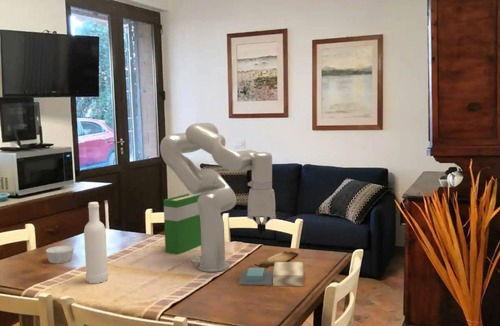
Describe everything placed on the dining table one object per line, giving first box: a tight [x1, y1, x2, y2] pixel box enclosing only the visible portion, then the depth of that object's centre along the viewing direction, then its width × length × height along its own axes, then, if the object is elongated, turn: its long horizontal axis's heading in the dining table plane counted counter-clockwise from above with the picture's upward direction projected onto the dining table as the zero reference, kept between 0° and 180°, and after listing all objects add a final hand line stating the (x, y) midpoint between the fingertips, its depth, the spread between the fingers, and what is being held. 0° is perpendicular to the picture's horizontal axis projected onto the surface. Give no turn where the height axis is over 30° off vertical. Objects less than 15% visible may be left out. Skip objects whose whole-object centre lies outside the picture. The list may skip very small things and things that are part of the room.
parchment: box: [254, 250, 299, 269], centre depth 225 cm, size 25×10×1 cm, turn 145°
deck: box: [272, 261, 304, 287], centre depth 200 cm, size 11×16×4 cm
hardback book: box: [163, 193, 201, 255], centre depth 244 cm, size 18×7×24 cm, turn 149°
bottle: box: [83, 201, 109, 284], centre depth 201 cm, size 8×8×30 cm
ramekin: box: [45, 245, 75, 264], centre depth 229 cm, size 11×11×5 cm
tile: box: [247, 267, 265, 281], centre depth 202 cm, size 6×9×2 cm, turn 175°
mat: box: [238, 269, 273, 287], centre depth 202 cm, size 12×16×1 cm
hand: (261, 233), depth 200 cm, fingers closed
